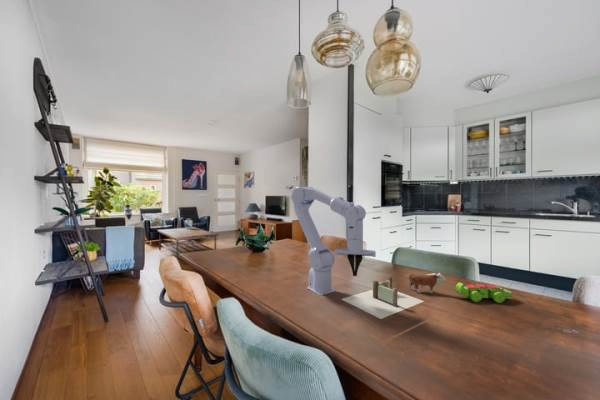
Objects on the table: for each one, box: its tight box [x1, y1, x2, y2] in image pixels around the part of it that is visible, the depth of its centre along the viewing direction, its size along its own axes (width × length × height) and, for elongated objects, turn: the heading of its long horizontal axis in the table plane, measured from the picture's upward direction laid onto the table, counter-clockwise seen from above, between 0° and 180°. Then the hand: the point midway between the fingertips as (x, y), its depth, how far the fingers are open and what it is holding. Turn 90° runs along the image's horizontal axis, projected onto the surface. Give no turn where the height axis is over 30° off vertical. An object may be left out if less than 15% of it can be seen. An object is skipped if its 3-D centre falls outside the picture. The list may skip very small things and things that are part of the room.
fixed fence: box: [372, 276, 393, 298], centre depth 97 cm, size 10×2×6 cm, turn 123°
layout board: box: [341, 289, 425, 320], centre depth 92 cm, size 18×24×1 cm
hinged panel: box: [378, 285, 399, 305], centre depth 90 cm, size 8×1×6 cm, turn 34°
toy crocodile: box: [454, 282, 514, 304], centre depth 95 cm, size 20×7×6 cm, turn 85°
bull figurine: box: [408, 272, 447, 294], centre depth 101 cm, size 4×13×8 cm, turn 78°
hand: (354, 275), depth 93 cm, fingers closed
